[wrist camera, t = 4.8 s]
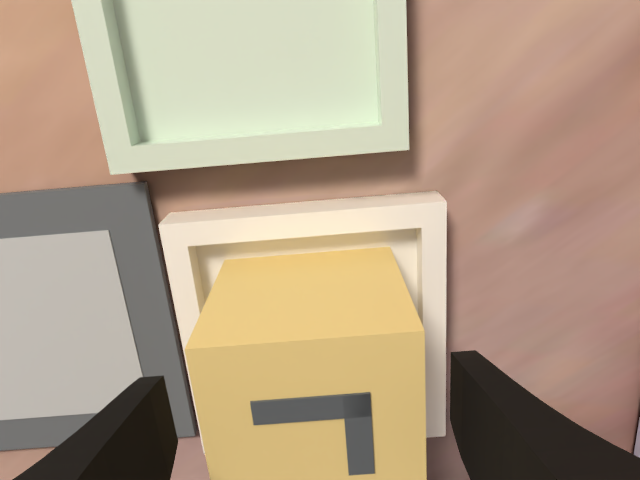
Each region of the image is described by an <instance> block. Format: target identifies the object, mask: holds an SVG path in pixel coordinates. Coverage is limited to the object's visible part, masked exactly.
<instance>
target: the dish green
mask: <svg viewBox="0 0 640 480" xmlns="http://www.w3.org/2000/svg"><path fill="white" fill-rule="evenodd" d="M71 1H72V5H73V10H74V14H75V19H76V23H77V28H78V32H79V37H80V41H81V45H82V50H83V54H84V59H85V63H86V68H87V72H88V77H89V81H90V85H91V90H92V94H93V99H94V103H95V108H96V112H97V117H98V121H99V126H100V130H101V134H102V139H103V143H104V148H105V152H106V157H107V161H108V166H109V170H110V174H111V175H113V174H125V173H137V172H149V171H161V170H173V169H185V168H197V167H209V166H221V165H233V164H245V163H257V162H270V161H282V160H294V159H306V158H318V157H330V156H342V155H354V154H366V153H378V152H390V151H402V150H409V113H408V65H407V17H406V0H71Z"/></svg>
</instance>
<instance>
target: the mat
mask: <svg viewBox="0 0 640 480" xmlns="http://www.w3.org/2000/svg"><path fill="white" fill-rule="evenodd" d="M163 375H164V379H165V384H166V388H167V393H168V397H169V402H170V406H171V411H172V415H173V420H174V425H175V429H176V434H177V437H189V436H195V434H196V431H197V428H196V423H195V419H194V414H193V409H192V404H191V399H190V394H189V389H188V384H187V379H186V374H185V369H184V364H183V359H182V354H181V349H180V344H179V339H178V334H177V329H176V324H175V319H174V314H173V309H172V304H171V299H170V294H169V289H168V284H167V279H166V274H165V269H164V264H163V259H162V254H161V249H160V244H159V240H158V235H157V230H156V225H155V220H154V215H153V210H152V205H151V200H150V195H149V190H148V185H147V181H145V182H132V183H120V184H108V185H96V186H84V187H72V188H60V189H48V190H36V191H24V192H11V193H0V451H2V450H15V449H29V448H42V447H56V446H59V445H60V444H61V443H62V442H64V441H65V440H66V439H67V438H69V437H70V436H71V435H72V434H74V433H75V432H76V431H77V430H79V429H80V428H81V427H82V426H83V425H85V424H86V423H87V422H88V421H89V420H90V419H92V418H93V417H94V416H95V415H96V414H97V413H98V412H100V411H101V410H102V409H103V408H104V407H105V406H107V405H108V404H109V403H110V402H111V401H112V400H113V399H114V398H116V397H117V396H118V395H119V394H120V393H121V392H122V391H124V390H125V389H126V388H127V387H128V386H129V385H131V384H132V383H133V382H134V381H136V380H137V379H138V378H140V377H150V376H163Z"/></svg>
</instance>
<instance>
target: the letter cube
mask: <svg viewBox="0 0 640 480" xmlns="http://www.w3.org/2000/svg"><path fill="white" fill-rule="evenodd" d="M184 350H185V355H186V360H187V365H188V370H189V375H190V380H191V385H192V390H193V395H194V400H195V405H196V410H197V415H198V420H199V425H200V430H201V435H202V441H203V446H204V451H205V456H206V461H207V466H208V471H209V476H210V480H427V476H426V391H425V330H424V328H423V325H422V323H421V321H420V318H419V316H418V313H417V311H416V308H415V306H414V304H413V301H412V299H411V296H410V294H409V292H408V289H407V287H406V284H405V282H404V279H403V277H402V275H401V272H400V270H399V267H398V265H397V263H396V260H395V258H394V255H393V253H392V250H391V248H390V247H378V248H366V249H353V250H341V251H328V252H316V253H303V254H291V255H278V256H266V257H253V258H241V259H229V260H224V262H223V264H222V267H221V269H220V271H219V273H218V276H217V278H216V280H215V282H214V285H213V287H212V289H211V291H210V293H209V296H208V298H207V300H206V302H205V305H204V307H203V309H202V311H201V314H200V316H199V318H198V320H197V323H196V325H195V327H194V329H193V331H192V334H191V336H190V338H189V340H188V343H187V345H186V347H185V349H184Z"/></svg>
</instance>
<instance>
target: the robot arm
mask: <svg viewBox="0 0 640 480" xmlns="http://www.w3.org/2000/svg"><path fill="white" fill-rule="evenodd" d="M450 421H451V424H452V428H453V432H454V435H455V439H456V442H457V445H458V449H459V452H460V455H461V458H462V461H463V463H464V465H465V468H466V470H467V472H468V475H469V477H470V479H471V480H640V419H639V425H638V431H637V437H636V443H635V449H634V455H633V454H631V453H629V452H627V451H625V450H623V449H621V448H619V447H617V446H615V445H613V444H611V443H610V442H608V441H606V440H604V439H602V438H601V437H599V436H597V435H595V434H593V433H592V432H590V431H588V430H586V429H584V428H583V427H581V426H579V425H578V424H576V423H575V422H573V421H571V420H570V419H568V418H567V417H565V416H564V415H562V414H560V413H559V412H557V411H556V410H554V409H553V408H551V407H550V406H548V405H547V404H545V403H544V402H543V401H541V400H540V399H538V398H537V397H535V396H534V395H533V394H531V393H530V392H529V391H527V390H526V389H524V388H523V387H522V386H520V385H519V384H518V383H516V382H515V381H514V380H513V379H511V378H510V377H509V376H507V375H506V374H505V373H504V372H502V371H501V370H500V369H498V368H497V367H496V366H495V365H493V364H492V363H491V362H490V361H488V360H487V359H486V358H485V357H483V356H482V355H481V354H479V353H478V352H477V351H475V350H474V351H462V352H451V383H450ZM177 445H178V438H177V434H176V429H175V425H174V420H173V415H172V411H171V406H170V402H169V397H168V393H167V388H166V384H165V379H164V375H163V376H150V377H140V378H138V379H137V380H136V381H134V382H133V383H132V384H131V385H129V386H128V387H127V388H126V389H125V390H124V391H122V392H121V393H120V394H119V395H118V396H117V397H116V398H114V399H113V400H112V401H111V402H110V403H109V404H108V405H107V406H105V407H104V408H103V409H102V410H101V411H100V412H98V413H97V414H96V415H95V416H94V417H93V418H92V419H90V420H89V421H88V422H87V423H86V424H85V425H83V426H82V427H81V428H80V429H79V430H77V431H76V432H75V433H74V434H72V435H71V436H70V437H69V438H67V439H66V440H65V441H64V442H62V443H61V444H60V445H59V446H57V447H56V448H55V449H54V450H52V451H51V452H50V453H49V454H47V455H46V456H45V457H44V458H42V459H41V460H40V461H38V462H37V463H36V464H34V465H33V466H31V467H30V468H29V469H27V470H26V471H25V472H23V473H22V474H20V475H19V476H17V477H16V478H14V479H13V480H170V477H171V473H172V469H173V464H174V459H175V455H176V450H177Z"/></svg>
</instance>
